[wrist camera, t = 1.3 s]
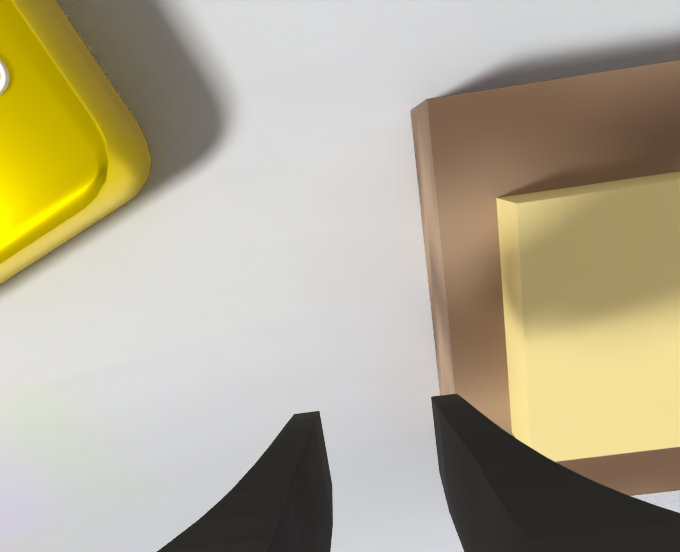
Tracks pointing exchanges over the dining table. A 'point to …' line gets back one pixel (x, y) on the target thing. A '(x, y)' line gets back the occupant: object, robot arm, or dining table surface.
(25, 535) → the dining table surface
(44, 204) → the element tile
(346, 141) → the dining table surface
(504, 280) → the yellow block
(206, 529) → the robot arm
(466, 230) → the plate
